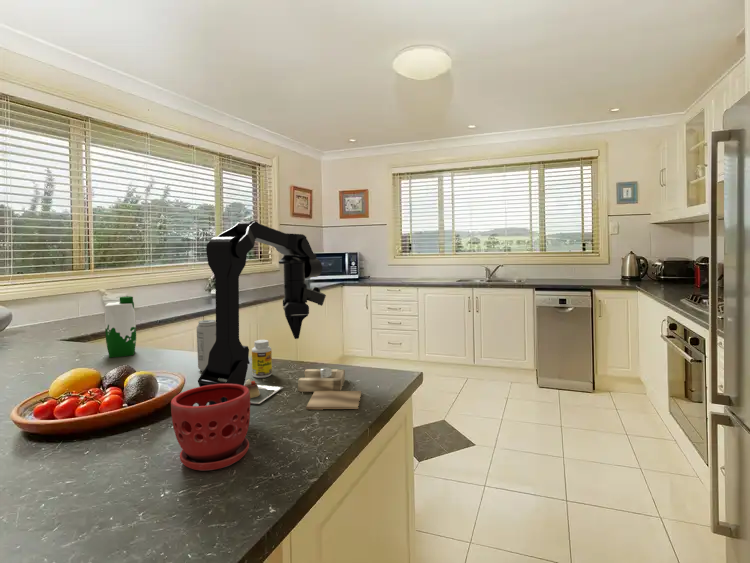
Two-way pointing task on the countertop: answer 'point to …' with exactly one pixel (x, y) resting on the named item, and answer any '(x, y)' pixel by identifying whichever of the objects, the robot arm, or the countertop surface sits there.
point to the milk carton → (120, 327)
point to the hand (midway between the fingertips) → (295, 335)
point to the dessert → (255, 389)
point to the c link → (321, 381)
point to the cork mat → (334, 400)
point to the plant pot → (212, 425)
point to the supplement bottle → (261, 359)
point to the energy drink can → (205, 341)
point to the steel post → (326, 372)
